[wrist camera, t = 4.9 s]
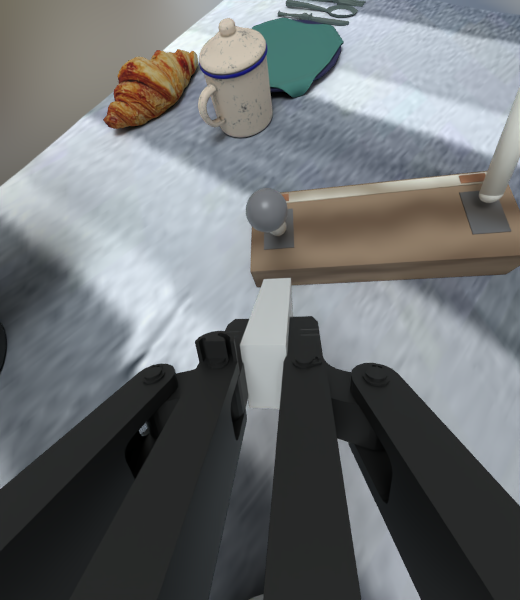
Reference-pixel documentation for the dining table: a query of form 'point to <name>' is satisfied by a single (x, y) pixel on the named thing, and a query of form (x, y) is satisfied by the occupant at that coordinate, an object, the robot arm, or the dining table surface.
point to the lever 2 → (503, 157)
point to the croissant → (149, 87)
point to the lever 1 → (267, 211)
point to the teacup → (257, 597)
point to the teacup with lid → (236, 80)
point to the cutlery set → (302, 46)
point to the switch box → (391, 233)
